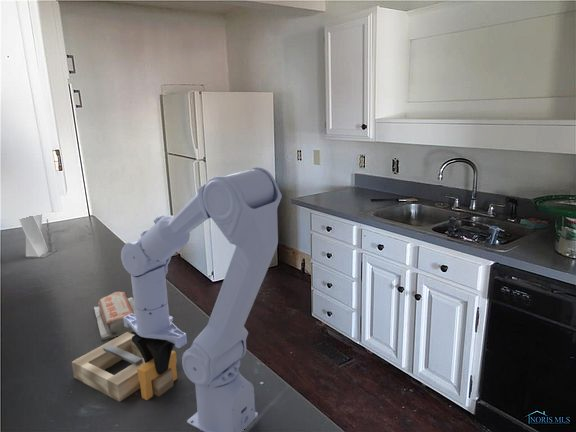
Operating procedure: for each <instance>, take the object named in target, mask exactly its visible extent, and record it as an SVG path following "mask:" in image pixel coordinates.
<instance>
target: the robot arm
mask: <svg viewBox="0 0 576 432" xmlns="http://www.w3.org/2000/svg"><path fill="white" fill-rule="evenodd" d="M282 197H283V196H282V192H281V191H280V189H279V186H278V184H277V181H276V180H275V178H274V176H273V175H272V174H271V172H269V170H267V169H265V168H263V167H252V168H249V169H248V170H244V171H243V170H242V171H239V172H235V173H231V174H227V175H215V176H213V177H211V178H209V180H207V181H206V183H204V184H202V185H201V186H199V187H198V189H197V193H196V194H195V195H194V196H192V198H191V199H190V200H189V201H188V202H186V204H185V205H184V206H183V207H181V209H180V210H179V211H178V212H177V213H176V214H175V215H161V216H158V217H156V218H155V219H154V220H153V223H154V224H153V226H152V227H150V228H149V229H147V230H145V231H142V232H141V233H140V237H139V239H138V240H135V241H130V242H126V243H125V244H124V246H123V247H122V248H121V252H120V259H121V263H122V267H123V268H124V269H125V271H126V272H127V273H128V274H129V275H130V281H131V288H132V298H133V300H134V306H135V314H133V313H131V314H129V315H127V316H125V317H123V320H124V326H125V327H127V328H129V327H130V326H131V327H132V328H133V330H134V331H135V332H134V333H136V334H134V336H133V337H132V342H133V343H134V344H135V345H136V346H137V348H138V349H139V351H140V352H141V354H142V356H143V359H144V361H145V363H147V362H149V361H150V360H152V359H154V363H155V368H156V371H157V374H159V375H161V374H162V373H164V372H165V371H166V370H168V366H169V361H170V356H171V352H172V350H173V349H174V348H177V349H181V348H182V347H183V346H185V345H186V344H188V340H187V339H188V338H187V333H186V332H184V331H182V330H181V329H180V328H178V327H177V326H176V325H175V324H174V323H173V321H174V317H173V316H172V315H170V312H169V311H170V309H169V302H168V290H167V289H168V288H167V281H166V280H167V279H166V275H168V272H169V266H168V265H169V263H170V261H171V259H172V256H174V255H175V254H176V253H177V252H179V251H180V250H181V249H182V248H184V247H185V246H186V245H187V244H188V243H189V240H190V235H191V234H190V232H192V231H193V230H194V229H196V228H197V227H198V226H200V225H201V224H203V223H204V222H206V221H207V220H209V219H211V220H212V221H213V222H214V224H215V225H216V226H217V228H218V229H219V230H220V232H221V233H222V235H224V237H225V238H226V240H227V241H228V242H229V244H231V245H234V246H235V249H234V252H233V254H232V257H231V259H230V262H229V265H228V268H227V270H226V273H225V276H224V279H223V281H222V284H221V287H220V290H219V293H218V296H217V298H216V301H215V303H214V306H213V309H212V310H211V311H212V312H211V314H210V317H209V320H208V321H207V325H206V326H205V327H204V328H203V330H202V331H201V332H200V333H199V334H197V336H196V337H195V338H194V340H193V341H192V344H191V346H190V347H189V348H188V349H186V350H185V351H184V352H183V354H182V357H181V363H182V364H181V365H182V368H183V372H184V374H185V375H186V377H187V378H188V379H189V381H191V382H192V383H193V384H194V386H195V397H196V398H195V399H196V408H197V411H196V412H195V413H194V414H193V415H192V416H191V417H189V418H188V419H187V420H186V423H187V424H188V425H191V426H193V427H194V428H197V429H198V430H200V431H203V432H242V431H243V432H244V431H245V430H246V429H247V428H248V427H249V426H250V425H251V424H252V423H253V422H254V421H255V420H254V419H255V418H256V419H257V418H258V417H259V413H258V411H256V403H255V387H254V385H253V382H251V381H249V380H248V379H246V378H245V377H244V376H243V375H242V374H241V372H240V370H239V368H240V366H241V359H243V358H244V356H245V355H246V352H247V337H248V335H249V331H248V329H246V327H245V325H246V322H247V319H248V317H249V315H250V312H251V310H252V308H253V306H254V304H255V301H256V298H257V296H258V293H259V291H260V289H261V286H262V283H264V279H265V277H266V274H267V273H268V270H269V267H270V265H271V262H272V259H273V257H274V255H275V252H276V250H277V249H278V244H279V230H278V229H279V228H278V227H279V226H278V207H279V205H280V202H281V199H282ZM173 351H174V350H173ZM253 420H254V421H253ZM251 422H252V423H251ZM250 423H251V424H250ZM249 424H250V425H249ZM248 425H249V426H248ZM247 426H248V427H247ZM245 428H246V429H245ZM244 429H245V430H244Z"/></svg>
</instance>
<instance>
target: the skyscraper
mask: <svg viewBox="0 0 576 432" xmlns="http://www.w3.org/2000/svg"><path fill="white" fill-rule="evenodd" d="M18 220H19V222H20V225H21V227H22V230H23V232H24V235H25V258H26V259H28V258H31V259H45V258H47V257H48V256H51V255H52V254H54V253H56V252H57V250H55V241H54V239H53V232H52V230H51V227H50V223H49V220H48V218H46V227H47V230H46V235H47V238H48V246H49V248H48V246H47V242H46V241H45V238H44V236H43V233H42V224H43V213H42V214H41V215H36V216H29V217H26V218H22V219H19V218H18Z"/></svg>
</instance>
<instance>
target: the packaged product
mask: <svg viewBox="0 0 576 432" xmlns="http://www.w3.org/2000/svg"><path fill="white" fill-rule="evenodd" d="M97 304H98V306H94V307H93V309H94V314H95V317H96V321H97V326H98V330H99V335H100V337H101V340H102V341H105V340H106V341H107V340H110V339H114V338H117V337H116V336H118V337H119V336H120V335H122V334H124V333H126V332H129V333H131V332H134V333H136V332H135V331H134V330H133V328H132V327H131V326H130V327H129V328H127V327H125V326H124V320H123V317H125V316H127V315H129V314H131V313H133V314H135V306H134V298H133V296H132V297H127V295H126V293H125V291H114V292H113V293H111V294H108V295H106V296H103V297H102V298H100V299H98V303H97ZM131 334H132V333H131ZM113 337H114V338H113ZM109 338H110V339H109Z"/></svg>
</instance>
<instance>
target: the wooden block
mask: <svg viewBox="0 0 576 432" xmlns="http://www.w3.org/2000/svg"><path fill="white" fill-rule="evenodd" d="M177 360H178V359H177V352H176V351H175V350H172V352H171V356H170V361H169V366H168V369H169V368H170V369H172V374H173V382H175V381H176V380H177V379H178V373H177V372H178V371H177V364H178V363H177ZM137 371H138V379H139V381H140V387H141V388H140V393H141V394H140V395H141V399H144V400H146V401H149V399H151V398H152V397H154V394H153V391H152V382H151V381H152V380H153V379H154V378H156V377H157V376H159V374H157V371H156V368H155V363H154V359H152V360H150V361H149V362H147V363H145V364H144V365H142V366H141V367H139V368H137Z"/></svg>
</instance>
